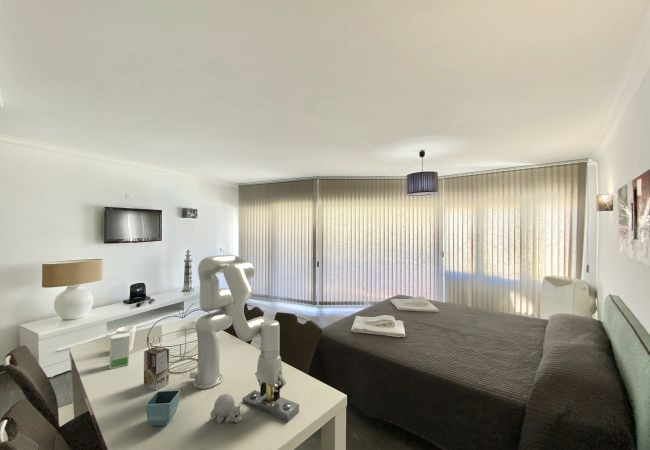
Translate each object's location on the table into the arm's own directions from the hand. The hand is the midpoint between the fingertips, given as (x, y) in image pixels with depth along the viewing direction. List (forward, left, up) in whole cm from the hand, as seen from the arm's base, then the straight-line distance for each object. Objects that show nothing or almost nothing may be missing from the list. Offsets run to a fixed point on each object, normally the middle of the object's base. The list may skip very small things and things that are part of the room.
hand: (269, 396), depth 110 cm
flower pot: (-38, -9, -4) cm, 39 cm away
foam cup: (-98, +52, -4) cm, 111 cm away
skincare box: (-88, +34, -4) cm, 94 cm away
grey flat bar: (0, 0, -4) cm, 4 cm away
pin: (0, 0, -4) cm, 4 cm away
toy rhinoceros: (-14, -8, -4) cm, 17 cm away
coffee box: (-56, +15, -4) cm, 58 cm away
